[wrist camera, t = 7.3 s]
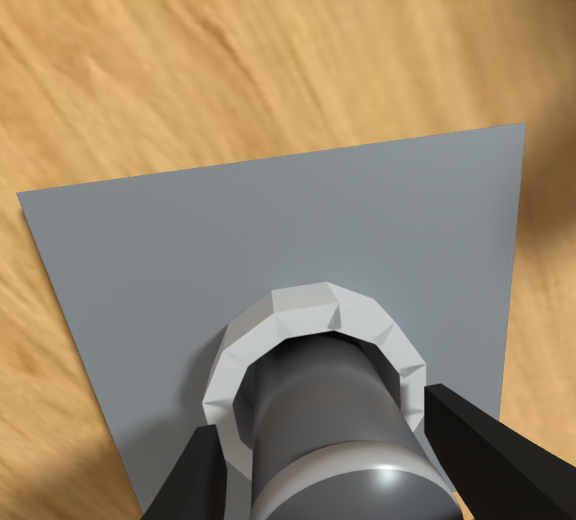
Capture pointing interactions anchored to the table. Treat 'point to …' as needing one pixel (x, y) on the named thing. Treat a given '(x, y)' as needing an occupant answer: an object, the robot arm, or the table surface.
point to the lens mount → (283, 283)
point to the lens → (336, 440)
